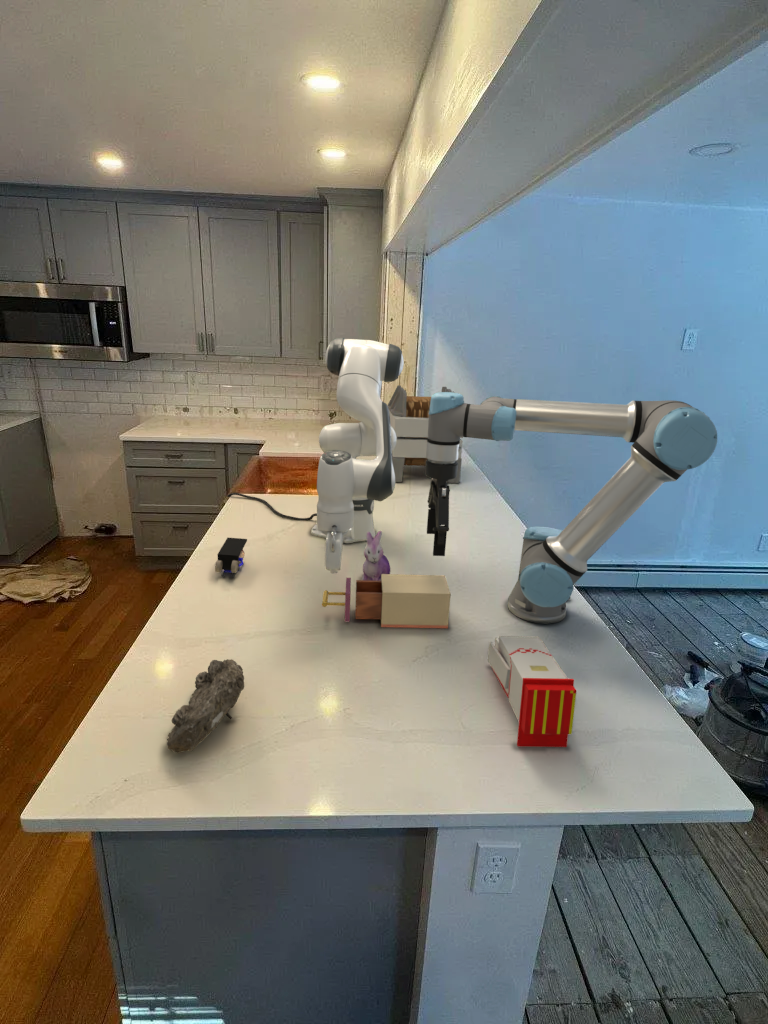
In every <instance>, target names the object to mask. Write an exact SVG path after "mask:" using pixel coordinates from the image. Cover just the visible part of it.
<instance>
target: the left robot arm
mask: <svg viewBox="0 0 768 1024" xmlns="http://www.w3.org/2000/svg"><path fill="white" fill-rule="evenodd" d="M324 357H325V365H326V369H327V370H328V372H329V373H330V374H333V375H334V376H337V378H338V379H337V385H336V402H337V404H338V406H339V408H340V409H341V410H342V411H343V412H344V413H345V414H346V415H347V416H349V417H350V418H352V419H354V420H357V421H358V422H337V423H331V424H327V425H324V426H323V427H322V429H321V430H320V432H319V435H318V445H319V447H320V450H321V451H322V452H323V453H322V454H321V455H320V457H319V459H318V467H317V474H316V492H317V496H318V497H317V498H318V500H317V503H316V512H315V513H313V514H311V515H310V516H309V517H294V516H291V515H286V514H283V513H281V512H279V511H277V510H276V509H275V508H274V507H273V506H272V505H271V504H270V503H269V502H268V501H266V500H265V499H263V498H260V497H255V496H252V495H246V494H243V493H240V492H231V493H229V494H228V495H227V496H226V497H227V498H230V497H232V496H239V497H242V498H246V499H250V500H256V501H258V502H261V503H264V504H265V505H266V506H267V507H268V508H269V509H270V510H271V511H272V512H273V513H274V514H275V515H277V516H280V517H282V518H284V519H290V520H294V521H311V520H313V519H314V517H316V523H315V524H314V525H313V526H312V528H311V530H310V533H311V536H315V537H319V538H323V539H325V545H324V546H325V547H324V569H325V570H326V571H330V573H331V574H338V573H339V571H341V568H342V559H343V548H344V547H343V546H344V544H352V543H357V542H365V541H367V538H366V534H367V532H370V533H371V535H372V537H373V538H374V537H375V536H376V534H377V532H376V528H375V523H374V513H373V512H374V509H375V501H376V502H382V501H385V500H386V499H388V498H389V497H390V496H392V495H393V493H394V490H395V487H396V482H395V472H394V468H393V461H392V451H393V450H394V448H395V446H396V442H397V437H396V433H395V431H394V429H393V428H392V427H391V426H390V415H389V409H388V406H387V405H388V404H387V403H386V402H385V401H383V400H382V399H381V394H382V386H383V382H384V383H390V382H395V381H397V379H399V376H400V375H401V374H402V372H403V369H404V364H405V363H404V361H405V360H404V356H403V351H402V349H401V348H400V347H399V346H397V345H395V344H393V343H389V344H388V343H385V342H380V341H376V340H372V339H371V340H370V339H358V338H357V339H356V338H345V337H336V338H335V337H334V338H333V339H332V340H331V341H329V344H328V346H327V348H326V351H325V356H324ZM358 457H375V458H373V459H362V458H358Z"/></svg>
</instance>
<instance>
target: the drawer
mask: <svg viewBox="0 0 768 1024" xmlns="http://www.w3.org/2000/svg"><path fill="white" fill-rule="evenodd" d="M351 581H352V577H345V591H342V592H341V591H328V590H327V589H326V590H323V594H322V600H321V602H322V603H321V606H322V607H323V608H326V607H328V606H331V607H332V606H333V607H335V606H337V607H339V606H340V607H342V606H343V607H344V623H350V619H351V595H352V594H351V588H352V587H351V586H352V582H351ZM329 596H344V602H333V601H332V602H329ZM354 612H355V616H354V617H355V620H381V613H382V581H373V580H362V579H356V580H355V611H354Z"/></svg>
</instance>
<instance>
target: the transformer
mask: <svg viewBox="0 0 768 1024" xmlns="http://www.w3.org/2000/svg"><path fill="white" fill-rule="evenodd" d="M441 392H452V393H456V392H455V391H453V390H452V389H451V388H447V386H442V387H441ZM407 394H408V393H407V390H406V389H404V388H403V387H402V385H399V384H398V385H397V386H396V388H395V390H394V392H393V394H392V395H391V398H390V400H389V402H388V404H387V406H388V409H389V415H390V426H391V427H392V428H393V429H394V431H395V433H396V437H397V442H396V446H395V448H394V450H393V451H392V461H393V468H394V472H395V483H402V482H403V475H404V469H405V466H406V467H407V466H411V467H412V466H413V467H415V466H416V467H417V466H418V467H425V464H426V460H427V458H426V446H427V438H428V420H429V410H430V402H431V396H415V395H414V396H413V395H412V396H411V395H407ZM463 438H464V437H460V443H459V447H461V448H462V449H461V451H458V460H456V462H457V463H458V467H457V476H456V478H454V479H450V480H448V481H447V483H449V484H455V483H456V484H459V483H461V472H462V461H463V460H462V453H463V442H464V441H463V440H462V439H463Z"/></svg>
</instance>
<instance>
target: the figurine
mask: <svg viewBox="0 0 768 1024" xmlns="http://www.w3.org/2000/svg"><path fill="white" fill-rule="evenodd" d="M382 536H383V532H382V530H379V531H378V532H376V535H375V537H372V535H371V533H370V532H367V534H366V538H367V540H366V545H365V548H364V550H363V556H364V559H365V560H364V562H363V564H362V577H361V580H373V581H381V574H391V565H390V560H389V559H388V557H387V556H386V555H385V554H384V550H383V547H382V546H381V541H382Z"/></svg>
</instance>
